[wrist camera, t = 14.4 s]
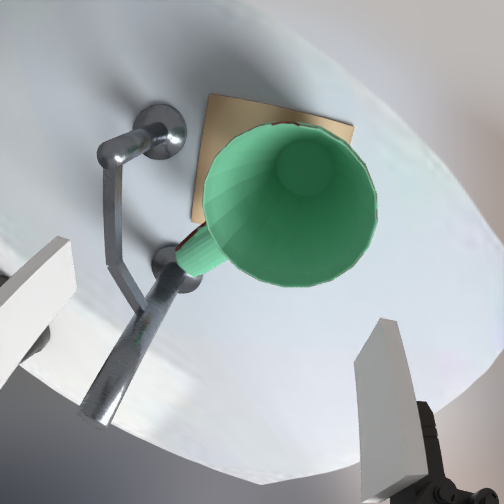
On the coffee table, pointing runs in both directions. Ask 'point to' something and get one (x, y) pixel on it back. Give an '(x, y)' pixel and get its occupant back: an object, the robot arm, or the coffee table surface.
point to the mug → (284, 207)
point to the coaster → (238, 121)
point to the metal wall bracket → (163, 265)
